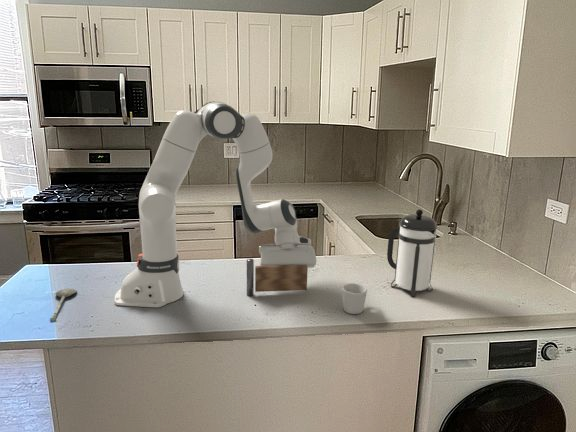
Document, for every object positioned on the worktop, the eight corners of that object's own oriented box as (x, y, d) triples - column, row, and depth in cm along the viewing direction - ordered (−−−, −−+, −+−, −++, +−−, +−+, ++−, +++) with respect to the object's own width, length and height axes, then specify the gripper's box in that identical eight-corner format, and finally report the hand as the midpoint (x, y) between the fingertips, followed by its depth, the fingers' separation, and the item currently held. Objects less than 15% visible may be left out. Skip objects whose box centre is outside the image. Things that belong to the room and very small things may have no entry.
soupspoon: (79, 292, 153) (59, 294, 152) (78, 283, 152) (57, 285, 151) (64, 320, 132) (40, 324, 131) (62, 310, 132) (39, 313, 130)
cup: (353, 300, 150) (354, 278, 148) (374, 307, 145) (375, 285, 143) (336, 311, 142) (337, 288, 140) (357, 319, 137) (359, 295, 135)
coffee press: (431, 282, 166) (440, 205, 158) (433, 300, 151) (443, 216, 143) (385, 276, 170) (391, 201, 162) (382, 293, 155) (389, 212, 147)
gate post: (246, 296, 150) (246, 261, 147) (246, 293, 153) (246, 258, 149) (253, 296, 151) (253, 261, 147) (253, 293, 153) (253, 258, 150)
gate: (255, 291, 151) (255, 267, 148) (255, 289, 152) (255, 265, 150) (306, 290, 153) (307, 266, 151) (306, 288, 154) (307, 264, 152)
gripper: (259, 240, 157) (260, 276, 150) (315, 239, 159) (319, 274, 152) (258, 247, 162) (259, 282, 155) (312, 246, 165) (316, 281, 158)
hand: (289, 278), depth 154 cm, fingers closed
